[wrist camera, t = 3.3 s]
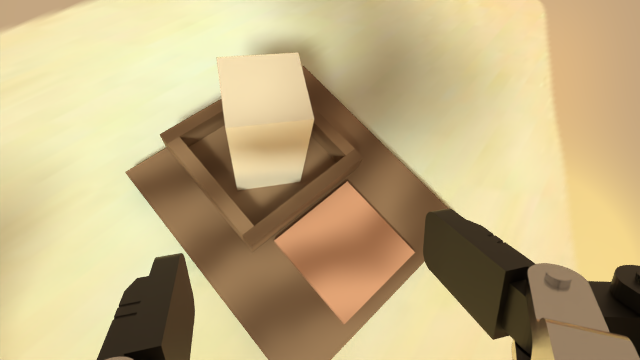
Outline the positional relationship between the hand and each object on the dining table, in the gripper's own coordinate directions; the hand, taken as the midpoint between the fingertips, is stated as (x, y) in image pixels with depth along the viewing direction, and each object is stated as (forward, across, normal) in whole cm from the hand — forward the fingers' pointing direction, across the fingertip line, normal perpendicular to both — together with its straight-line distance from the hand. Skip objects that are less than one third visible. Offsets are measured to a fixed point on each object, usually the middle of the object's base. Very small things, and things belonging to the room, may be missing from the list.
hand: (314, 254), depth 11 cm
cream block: (+18, 0, +2) cm, 18 cm away
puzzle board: (+16, -2, +6) cm, 18 cm away
